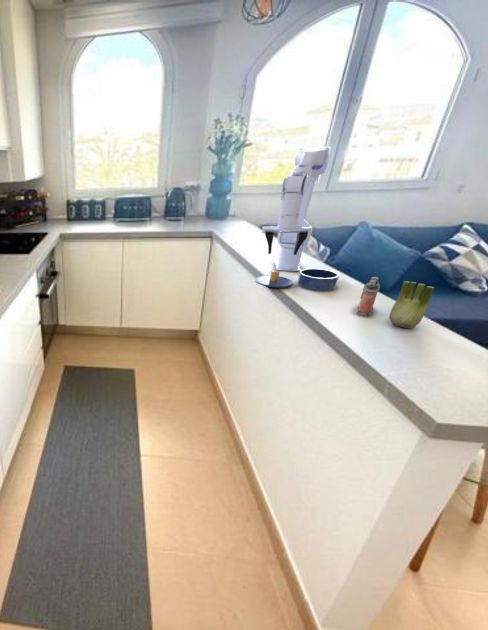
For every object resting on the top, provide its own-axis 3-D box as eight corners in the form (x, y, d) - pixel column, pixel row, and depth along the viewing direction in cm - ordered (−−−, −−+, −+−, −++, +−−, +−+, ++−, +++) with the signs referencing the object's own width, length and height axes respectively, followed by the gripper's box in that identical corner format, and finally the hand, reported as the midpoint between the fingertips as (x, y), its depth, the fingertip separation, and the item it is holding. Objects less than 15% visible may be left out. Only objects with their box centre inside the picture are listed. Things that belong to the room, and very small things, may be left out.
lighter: (359, 305, 102) (369, 273, 98) (374, 308, 100) (384, 275, 96) (354, 314, 97) (364, 281, 93) (369, 317, 95) (380, 283, 91)
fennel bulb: (421, 330, 87) (439, 286, 82) (401, 331, 87) (417, 287, 82) (401, 320, 92) (417, 278, 87) (382, 321, 92) (397, 279, 87)
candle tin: (295, 279, 125) (298, 267, 123) (332, 281, 121) (335, 269, 119) (299, 289, 116) (302, 277, 115) (338, 292, 112) (341, 279, 110)
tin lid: (254, 277, 130) (256, 265, 128) (290, 279, 125) (292, 267, 123) (255, 287, 121) (257, 275, 119) (293, 290, 116) (296, 277, 114)
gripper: (265, 216, 115) (258, 255, 120) (317, 216, 109) (308, 257, 114) (264, 212, 120) (258, 250, 126) (314, 212, 114) (305, 252, 120)
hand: (281, 253), depth 121 cm, fingers open, 7 cm apart
